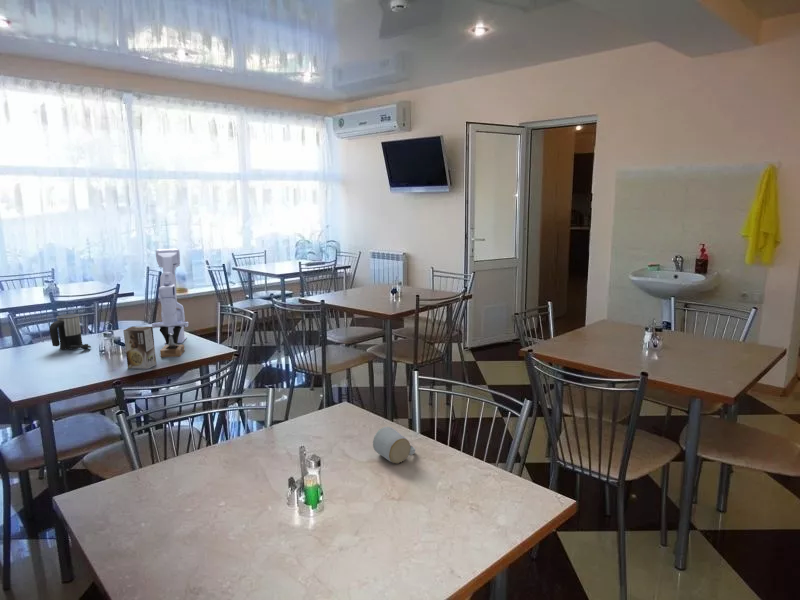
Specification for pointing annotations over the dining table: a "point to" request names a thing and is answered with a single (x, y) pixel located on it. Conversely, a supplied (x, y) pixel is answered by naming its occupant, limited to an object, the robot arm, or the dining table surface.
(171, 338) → the needle peg
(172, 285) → the robot arm
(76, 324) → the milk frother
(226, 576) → the dining table surface
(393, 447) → the ceramic mug
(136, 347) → the coffee box
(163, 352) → the bead block
